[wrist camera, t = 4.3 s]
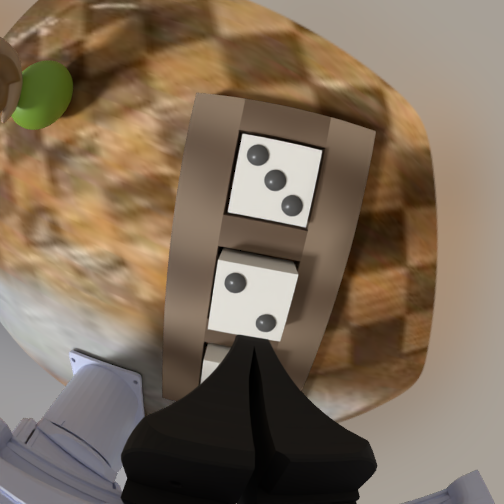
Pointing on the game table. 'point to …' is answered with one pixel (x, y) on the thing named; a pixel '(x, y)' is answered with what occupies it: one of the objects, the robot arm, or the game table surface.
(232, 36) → the game table surface
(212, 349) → the tile one pip
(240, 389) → the robot arm
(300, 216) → the tile three pips
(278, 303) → the tile two pips
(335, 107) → the game table surface
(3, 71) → the snail figurine
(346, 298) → the game table surface
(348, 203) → the key board
